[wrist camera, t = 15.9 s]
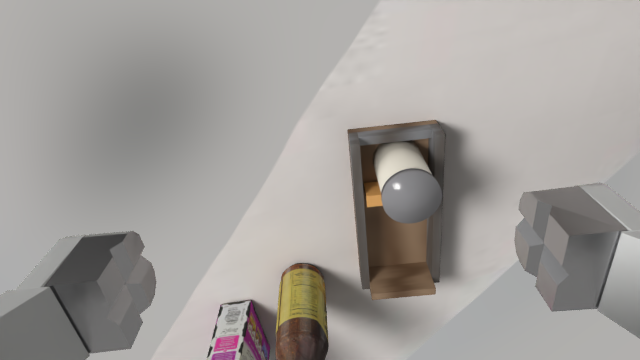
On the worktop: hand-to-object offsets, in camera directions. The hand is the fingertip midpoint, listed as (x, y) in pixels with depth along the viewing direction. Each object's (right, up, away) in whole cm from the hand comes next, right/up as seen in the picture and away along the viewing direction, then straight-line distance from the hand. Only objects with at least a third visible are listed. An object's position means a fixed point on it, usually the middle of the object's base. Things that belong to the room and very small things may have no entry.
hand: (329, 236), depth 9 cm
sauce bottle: (-3, -12, +50) cm, 51 cm away
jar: (+9, +4, +40) cm, 41 cm away
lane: (+9, -2, +44) cm, 45 cm away
